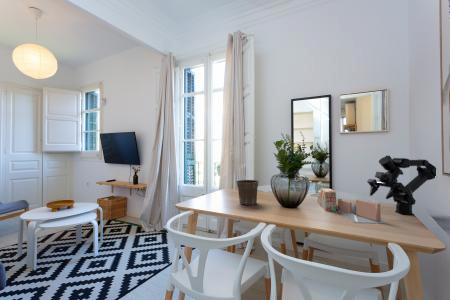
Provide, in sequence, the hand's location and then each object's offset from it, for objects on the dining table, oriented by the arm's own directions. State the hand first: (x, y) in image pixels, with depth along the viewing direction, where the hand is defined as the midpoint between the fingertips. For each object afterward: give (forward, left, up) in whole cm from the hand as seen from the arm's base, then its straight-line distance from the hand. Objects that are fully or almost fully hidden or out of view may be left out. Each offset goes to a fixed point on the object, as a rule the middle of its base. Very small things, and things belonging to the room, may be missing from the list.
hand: (378, 196), depth 121 cm
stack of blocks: (+21, -20, -12) cm, 32 cm away
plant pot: (+73, -26, -11) cm, 79 cm away
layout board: (+10, -1, -11) cm, 15 cm away
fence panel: (+8, +3, -11) cm, 14 cm away
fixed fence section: (+14, -9, -11) cm, 20 cm away
